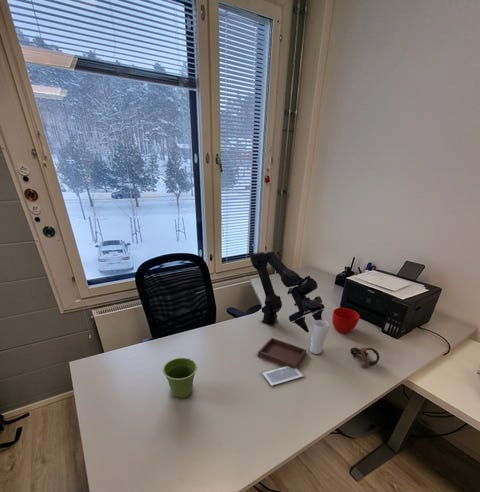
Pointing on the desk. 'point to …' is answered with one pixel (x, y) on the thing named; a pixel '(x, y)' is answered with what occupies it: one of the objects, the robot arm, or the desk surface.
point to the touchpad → (282, 375)
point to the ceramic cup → (345, 319)
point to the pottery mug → (364, 356)
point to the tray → (282, 353)
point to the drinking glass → (318, 336)
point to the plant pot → (180, 376)
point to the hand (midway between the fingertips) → (314, 329)
